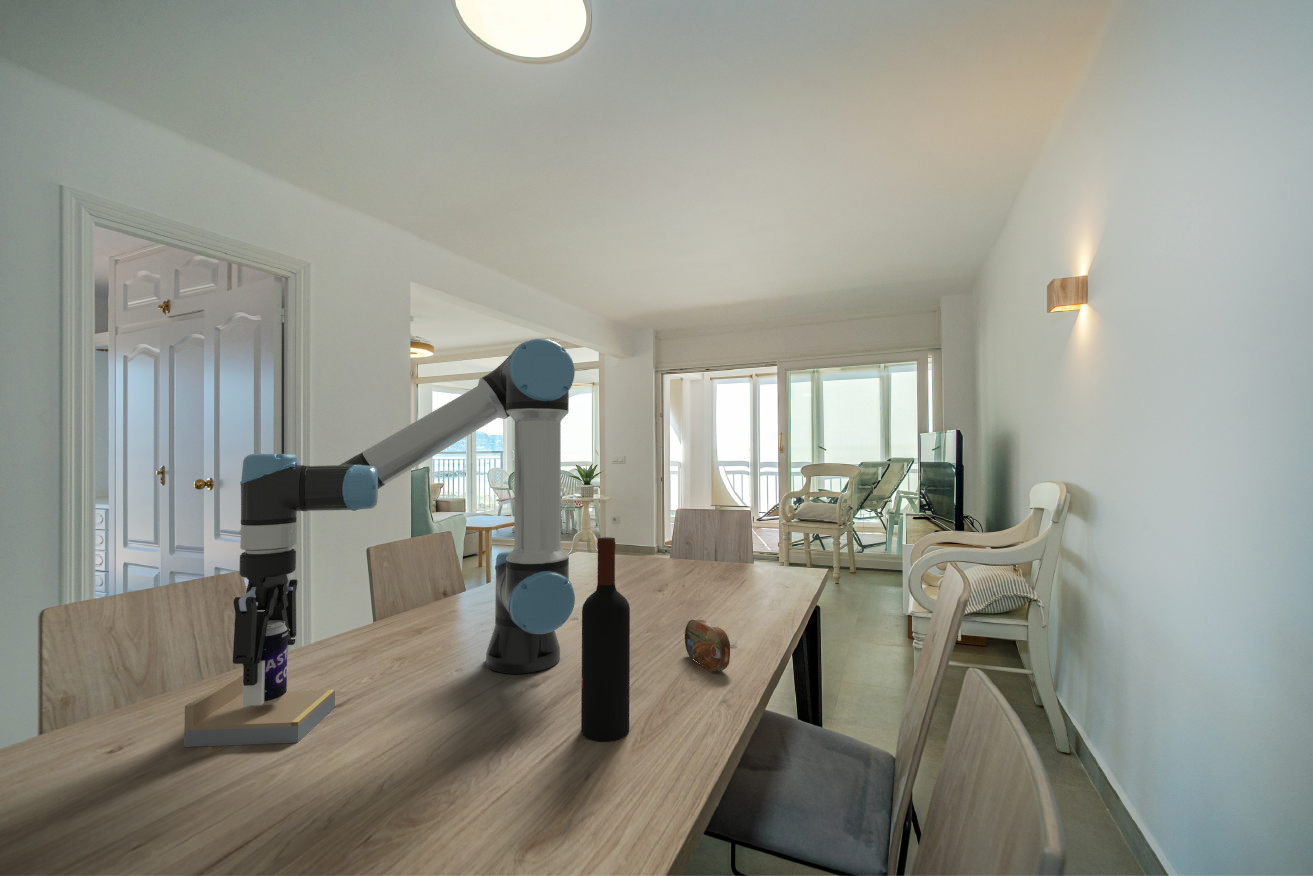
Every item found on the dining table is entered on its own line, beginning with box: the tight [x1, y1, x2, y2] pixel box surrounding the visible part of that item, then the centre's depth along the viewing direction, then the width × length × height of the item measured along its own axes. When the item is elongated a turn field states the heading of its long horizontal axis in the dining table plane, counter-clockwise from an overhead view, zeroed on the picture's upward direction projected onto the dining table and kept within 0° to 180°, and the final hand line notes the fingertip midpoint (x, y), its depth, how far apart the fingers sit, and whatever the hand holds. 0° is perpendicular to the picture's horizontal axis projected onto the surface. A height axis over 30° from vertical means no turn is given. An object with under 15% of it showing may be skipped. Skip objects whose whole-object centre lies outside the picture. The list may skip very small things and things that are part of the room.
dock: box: [183, 674, 336, 748], centre depth 93 cm, size 16×12×6 cm
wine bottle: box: [580, 536, 631, 743], centre depth 92 cm, size 8×8×30 cm
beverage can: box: [252, 620, 289, 706], centre depth 93 cm, size 6×6×12 cm
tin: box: [684, 619, 731, 673], centre depth 120 cm, size 15×3×8 cm, turn 25°
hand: (265, 695), depth 93 cm, fingers open, 6 cm apart
